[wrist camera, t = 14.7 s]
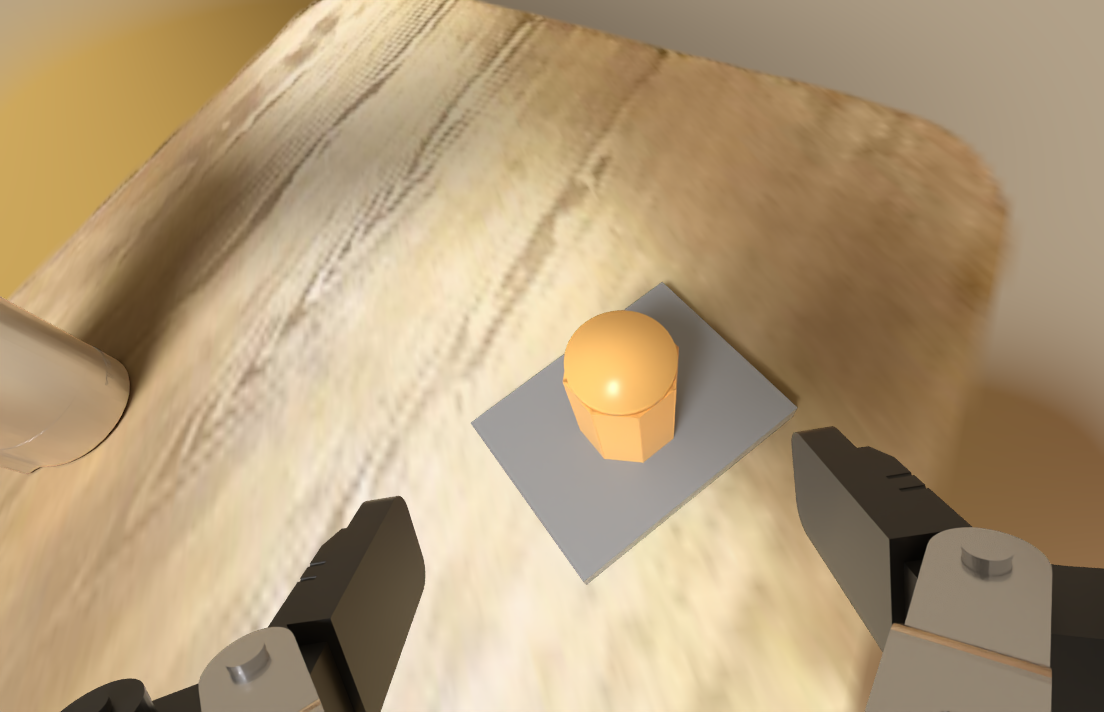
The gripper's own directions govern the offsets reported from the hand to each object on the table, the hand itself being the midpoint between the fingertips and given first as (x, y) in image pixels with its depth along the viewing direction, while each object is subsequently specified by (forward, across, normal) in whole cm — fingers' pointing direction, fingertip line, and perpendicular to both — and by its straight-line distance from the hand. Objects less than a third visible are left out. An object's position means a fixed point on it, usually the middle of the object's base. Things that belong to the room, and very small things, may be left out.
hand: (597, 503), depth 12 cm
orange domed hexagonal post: (+23, -1, +8) cm, 24 cm away
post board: (+24, -1, +9) cm, 26 cm away
